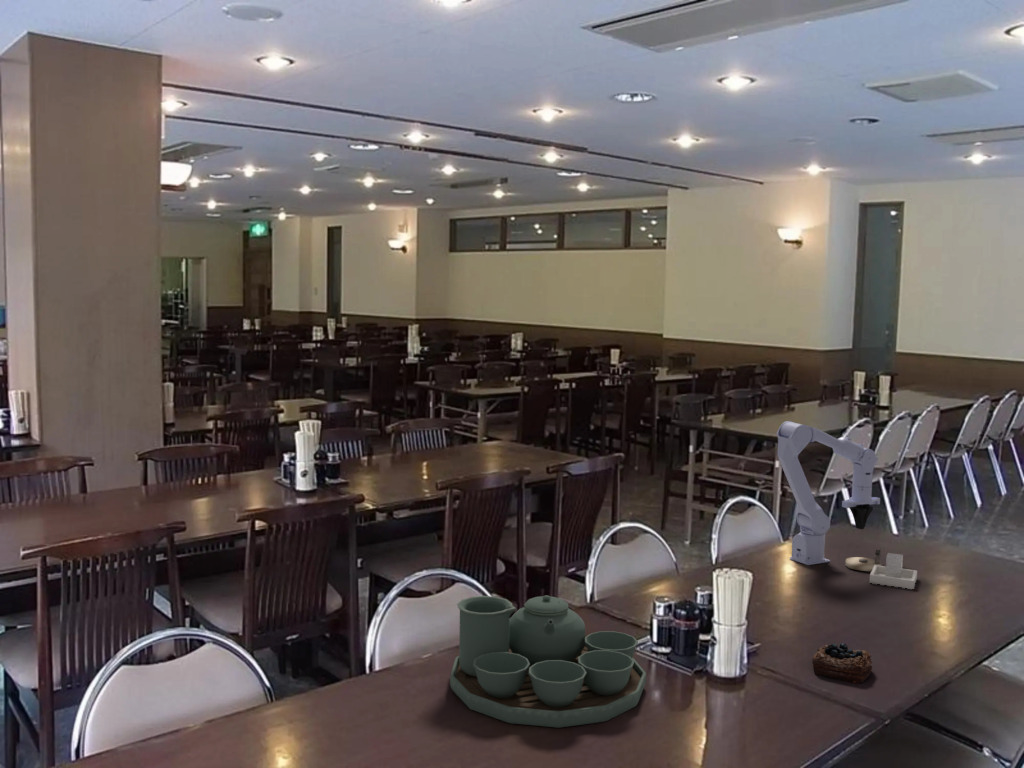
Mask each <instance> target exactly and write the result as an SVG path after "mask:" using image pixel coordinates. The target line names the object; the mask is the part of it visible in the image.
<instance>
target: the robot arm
mask: <svg viewBox="0 0 1024 768" xmlns="http://www.w3.org/2000/svg"><path fill="white" fill-rule="evenodd" d="M776 437H777V458H778V460H779V463H780V465H781V467H782V470H783V472H784V475H785V478H786V480H787V482H788V485H789V487H790V490H791V492H792V494H793V497H794V499H795V502H796V504H797V506H796V507H795V510H794V511H795V512H796V522H797V524H798V526H800V527H799V529H800V532H799V533H796V534H795V535H794V536H793V538H792V540H791V541H792V542H791V556H790V557H789V559H790V560H792V561H794V562H797V563H800V564H804V565H806V566H811V565H818V564H825V563H831V560H830V559H828V558H826V557H825V547H826V545H825V544H826V543H825V541H826V540H825V539H826V534H827V532H828V531H829V530H830V528H831V527H830V526H831V520H830V518H829V516H828V515H826V513H825V512H824V510H823V508H822V507H821V506H820V505H819V504H818V502H816V500H815V497H814V494H813V492H812V489H811V487H810V485H809V481H808V480H807V477H806V475H805V472H804V470H803V467H802V464H801V463H800V460H799V454H801V453H802V451H803V450H805V448H806V447H807V445H809V443H814V442H817V443H820V444H822V445H824V446H826V447H829V448H832V451H833V453H834V454H835V455H837V456H839V457H841V458H843V459H845V460H847V461H850V462H851V464H853V465H852V485H851V487H852V488H851V497H849V499H845V500H842V501H841V502H842V503H841V507H842V508H845V509H849V510H850V512H851V514H852V517H853V520H854V524H855V528H856V529H858V530H864V529H865V527H866V524H867V521H868V519H869V516H870V515H871V513H872V511H873V510H874V509H873V508H874V507H873V506H872V505H880V504H881V498H880V497H877V496H872V491H873V473H874V469H875V465H876V464H877V463H878V459H879V458H878V457H877V455H876V453H875V451H874V450H873V449H871V448H868V447H864V444H863V443H857V442H854V441H852V438H850V437H849V436H848V437H847V436H843V437H838V438H837V437H834V436H833V435H831V434H828V433H827V432H825V431H823V430H820V429H819V428H817V427H813V426H809V425H807V424H801V423H799V422H798V423H796V422H793V421H791V420H787V421H783V423H781V424H780V426H779V427H778V429H777V431H776Z"/></svg>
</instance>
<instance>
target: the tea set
mask: <svg viewBox="0 0 1024 768" xmlns="http://www.w3.org/2000/svg"><path fill="white" fill-rule="evenodd" d="M456 605H457V608H458V610H459V655H458V656H455V658H454V662H453V665H452V669H451V672H450V677H449V685H450V688H451V690H452V691H453V692H454V694H455V695H456V696H457V697H458V698H459V699H460V700H461V701H462V702H463V703H464V704H465V705H466V706H467V707H468V708H469V710H471V711H474V712H477V713H479V714H482V715H485V716H488V717H491V718H494V719H497V720H500V721H502V722H504V723H508V724H514V725H515V724H516V725H517V724H518V725H527V726H537V727H538V726H539V727H548V728H566V727H567V728H568V727H573V726H581V725H587V724H588V725H589V724H595V723H601V722H607V721H609V720H612V719H613V718H615V717H617V716H619V715H621V714H623V713H625V712H627V711H630V710H631V709H633V708H635V707H637V705H638V703H639V702H640V698H641V697H642V693H643V692H644V688H645V685H646V683H647V672H646V671H645V670H644V669H643V667H641V665H640V664H639V663H638V661H636V659H635V658H634V654H635V650H636V648H637V645H638V643H639V641H638V640H637V639H636V638H635V637H634V636H633V635H630V634H627V633H625V632H621V631H620V632H618V631H614V630H613V631H612V630H611V631H610V630H607V631H606V630H604V631H603V630H601V631H596V632H592V633H589V634H588V635H586V625H585V624H586V623H585V622H584V620H583V618H582V617H581V616H579V614H578V613H577V612H575V611H573V610H572V609H571V608H569V603H568V602H566V601H565V600H564V599H562V598H560V597H555V596H550V595H543V596H541V595H540V596H535V597H532V598H529V599H527V601H526V602H524V604H523V607H521V608H519V609H518V610H517V608H516V607H515V606H514V605H513V602H511V601H510V600H509V599H507V598H502V597H498V596H492V595H491V596H490V595H479V596H477V595H476V596H470V597H467V598H463V599H461V600H460V601H458V602H457V604H456ZM516 610H517V611H516ZM515 611H516V612H515ZM512 614H513V615H512Z"/></svg>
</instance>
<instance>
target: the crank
mask: <svg viewBox="0 0 1024 768" xmlns="http://www.w3.org/2000/svg"><path fill="white" fill-rule="evenodd" d="M881 552H882V551H881V550H880V549H876V550H875V552H874V559H873V558H870V557H862V556H860V557H859V556H854V557H853V556H852V557H847V558H846V559H845V563H844V564H845V566H846V567H847V568H848V569H851V570H855V571H862V572H871V571H872V569H873V567H874V565H879V566H882V563H881V555H882V554H881Z"/></svg>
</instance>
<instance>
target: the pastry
mask: <svg viewBox="0 0 1024 768" xmlns="http://www.w3.org/2000/svg"><path fill="white" fill-rule="evenodd" d="M871 657H872V655H871V654H870V653H869V651H866V650H865V649H863V650H862V649H856V650H853V649H851V648H849V647H848V645H847V644H846V643H844V642H843V643H840V644H839V646H838V645H837V644H836V643H832V644H829V645H828V644H825V645H823V646H822V647H820V648H818V649H817V652H816V653H815V654H814V655H813V657H812V668H813V670H814V674H815V675H817V676H821V677H825V678H828V679H834V680H839V681H843V682H848V683H852V684H862V683H864V682H865V680H867V679H868V678H869V676H870V675H871V672H872V669H873V666H872V663H873V661H872V658H871Z"/></svg>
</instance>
